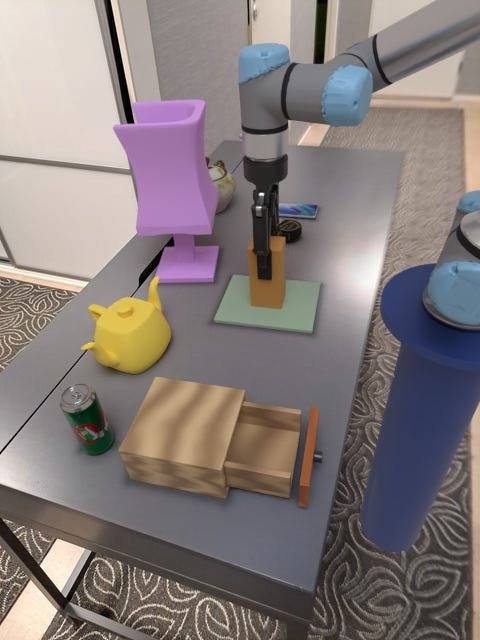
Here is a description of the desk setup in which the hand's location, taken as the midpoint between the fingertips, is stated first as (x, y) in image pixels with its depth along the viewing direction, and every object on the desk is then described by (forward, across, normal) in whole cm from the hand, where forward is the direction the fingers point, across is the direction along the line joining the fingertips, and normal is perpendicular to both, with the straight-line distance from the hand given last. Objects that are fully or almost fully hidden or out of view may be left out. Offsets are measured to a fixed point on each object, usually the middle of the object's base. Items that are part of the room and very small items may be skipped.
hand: (267, 269), depth 88 cm
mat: (+9, 0, 0) cm, 9 cm away
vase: (+9, -11, -22) cm, 26 cm away
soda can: (+9, +39, -20) cm, 45 cm away
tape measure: (+9, -27, -1) cm, 28 cm away
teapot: (+9, +18, -24) cm, 31 cm away
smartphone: (+9, -41, -2) cm, 42 cm away
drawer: (+8, +37, +8) cm, 39 cm away
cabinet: (+8, +37, -5) cm, 38 cm away
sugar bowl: (+9, -41, -25) cm, 49 cm away
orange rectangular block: (+8, 0, 0) cm, 8 cm away
